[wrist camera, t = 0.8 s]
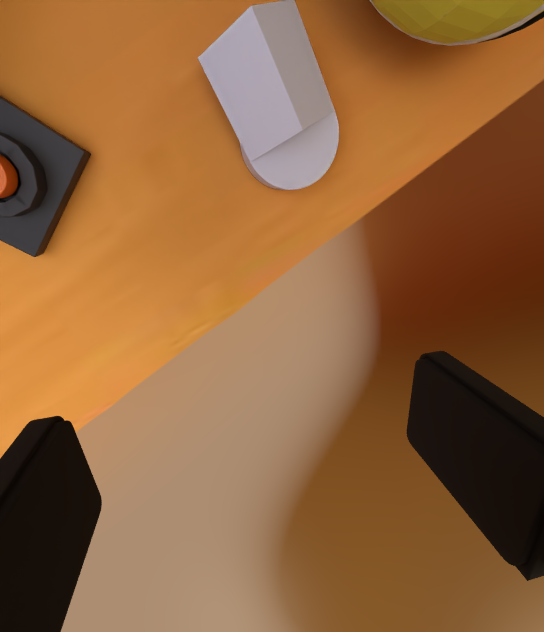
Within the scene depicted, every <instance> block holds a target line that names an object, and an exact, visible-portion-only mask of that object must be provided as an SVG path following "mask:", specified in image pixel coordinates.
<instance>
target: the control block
mask: <svg viewBox="0 0 544 632" xmlns="http://www.w3.org/2000/svg"><path fill="white" fill-rule="evenodd" d="M0 154H1V155H2V156H4V157H5V158H6V159H7V160H9V161H10V163H11V164H12V165H13V166H14V168H15V170H16V172H17V175H18V187H17V189H16V191H15V192H14V193H13V194H12V195H11V196H9V197H6V198H0V240H1V241H3V242H5V243H7V244H9V245H11V246H13V247H15V248H17V249H19V250H21V251H23V252H25V253H27V254H29V255H31V256H33V257H36V256H39V255H41V254H43V253H44V251H45V249H46V247H47V245H48V243H49V240H50V238H51V236H52V234H53V232H54V230H55V228H56V226H57V224H58V222H59V220H60V217H61V215H62V213H63V211H64V209H65V207H66V205H67V203H68V201H69V199H70V197H71V195H72V192H73V190H74V188H75V186H76V184H77V182H78V180H79V178H80V176H81V174H82V172H83V169H84V167H85V165H86V163H87V161H88V159H89V157H90V155H91V154H90V153H89V152H87V151H86V150H84V149H83V148H81V147H80V146H78V145H77V144H75V143H73V142H72V141H70V140H69V139H67V138H66V137H64V136H63V135H61V134H60V133H58V132H56V131H55V130H53V129H52V128H50V127H49V126H47V125H46V124H44V123H42V122H41V121H39V120H38V119H36V118H35V117H33V116H32V115H30V114H29V113H27V112H25V111H24V110H22V109H21V108H19V107H18V106H16V105H15V104H13V103H11V102H10V101H8V100H7V99H5V98H4V97H2V96H1V95H0Z"/></svg>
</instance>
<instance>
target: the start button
mask: <svg viewBox="0 0 544 632" xmlns="http://www.w3.org/2000/svg"><path fill="white" fill-rule="evenodd" d="M17 187H18V175H17V172H16V170H15V168H14V166H13V165H12V164H11V163H10V161H9V160H7V159H6V158H5V157H4V156H2V155H1V154H0V198H6V197H9V196H11V195H12V194H13V193H14V192H15V191H16V189H17Z"/></svg>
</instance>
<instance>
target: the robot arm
mask: <svg viewBox="0 0 544 632" xmlns="http://www.w3.org/2000/svg"><path fill="white" fill-rule="evenodd" d="M407 437H408V440H409V442H410V444H411V445H412V446H413V448H414V449H415V450H416V451H417V452H418V454H419V455H420V456H421V457H422V459H423V460H424V461H425V462H426V464H427V465H428V466H429V467H430V468H431V470H432V471H433V472H434V473H435V475H436V476H437V477H438V478H439V480H440V481H441V482H442V483H443V485H444V486H445V487H446V488H447V490H448V491H449V492H450V493H451V495H452V496H453V497H454V498H455V499H456V501H457V502H458V503H459V504H460V506H461V507H462V508H463V509H464V510H465V512H466V513H467V514H468V515H469V517H470V518H471V519H472V520H473V522H474V523H475V524H476V525H477V527H478V528H479V529H480V530H481V532H482V533H483V534H484V535H485V537H486V538H487V539H488V540H489V541H490V543H491V544H492V545H493V546H494V548H495V549H496V550H497V551H498V552H499V554H500V555H501V556H502V557H503V559H504V560H505V561H507V562H508V563H509V564H511V565H513V566H516V567H517V569H518V570H519V571H520V572H521V574H522V575H523V576H524V577H525V578H526V580H527V581H528V580H531V579H534V578H538V577H541V576H544V417H542V416H541V415H539V414H538V413H536V412H535V411H533V410H532V409H530V408H529V407H527V406H526V405H524V404H523V403H521V402H520V401H518V400H517V399H515V398H514V397H512V396H511V395H509V394H508V393H506V392H505V391H503V390H502V389H500V388H499V387H497V386H496V385H494V384H493V383H491V382H490V381H488V380H487V379H485V378H484V377H482V376H481V375H479V374H478V373H476V372H475V371H474V370H472V369H471V368H469V367H468V366H466V365H465V364H463V363H462V362H460V361H459V360H457V359H456V358H454V357H453V356H451V355H450V354H448V353H447V352H444V351H437V352H431V353H425V354H423V355H421V357H420V359H419V360H417V361H416V364H415V370H414V378H413V385H412V393H411V401H410V410H409V418H408V425H407ZM101 503H102V502H101V495H100V493H99V490H98V488H97V485H96V483H95V480H94V478H93V475H92V473H91V470H90V468H89V465H88V463H87V460H86V458H85V455H84V453H83V450H82V448H81V445H80V443H79V440H78V438H77V435H76V433H75V430H74V428H73V425H72V423H71V422H70V421H64V419H63V418H62V417H60V416H55V417H49V418H43V419H37V420H32V421H30V422H29V423H28V424H27V425H26V426H25V428H24V429H23V430H22V432H21V433H20V434H19V435H18V437H17V438H16V439H15V441H14V442H13V443H12V444H11V446H10V447H9V448H8V450H7V451H6V452H5V453H4V455H3V456H2V457H1V459H0V632H61V629H62V626H63V623H64V620H65V617H66V614H67V611H68V608H69V605H70V602H71V599H72V596H73V593H74V589H75V587H76V584H77V581H78V577H79V575H80V572H81V569H82V565H83V563H84V560H85V556H86V554H87V551H88V547H89V545H90V542H91V538H92V536H93V533H94V530H95V526H96V524H97V520H98V518H99V514H100V511H101V505H102V504H101Z"/></svg>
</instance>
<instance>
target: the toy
mask: <svg viewBox="0 0 544 632" xmlns="http://www.w3.org/2000/svg"><path fill="white" fill-rule="evenodd" d="M369 1H370V2H371V3H372V4H373V6H374V7H375V8H376V10H377V11H378V12H379V14H380V15H382V16H383V17H384V18H385V19H386V20H387V21H388V22H389V23H391V24H392V25H393V26H394V27H395V28H397V29H399V30H400V31H402V32H404V33H405V34H407V35H409V36H411V37H412V38H416V39H419V40H422V41H425V42H428V43H431V44H440V45H448V46H454V45H466V44H474V43H480V42H484V41H489V40H493V39H497V38H501V37H504V36H506V35H509V34H511V33H514V32H516V31H519V30H521V29H524V28H526V27H527V26H529V25H531V24H533V23H535V22H536V21H538V20H540V19H542V18H543V17H544V0H369Z"/></svg>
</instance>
